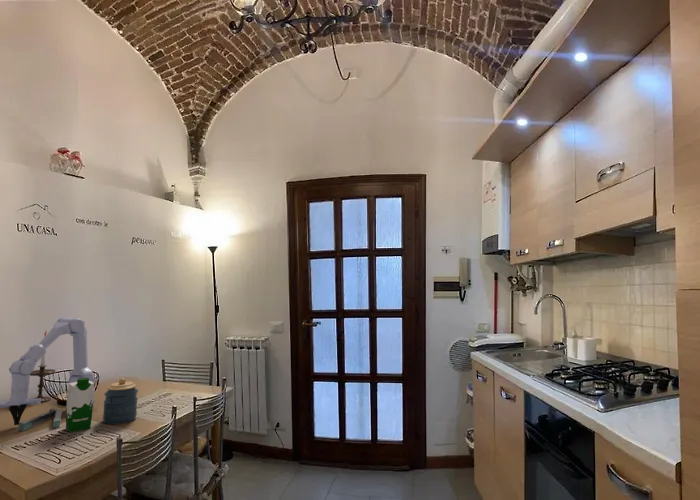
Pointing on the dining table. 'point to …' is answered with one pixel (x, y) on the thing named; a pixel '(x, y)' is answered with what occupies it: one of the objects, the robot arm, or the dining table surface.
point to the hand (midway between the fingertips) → (16, 424)
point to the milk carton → (79, 405)
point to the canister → (120, 402)
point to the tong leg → (34, 421)
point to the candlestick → (41, 374)
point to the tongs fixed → (56, 417)
